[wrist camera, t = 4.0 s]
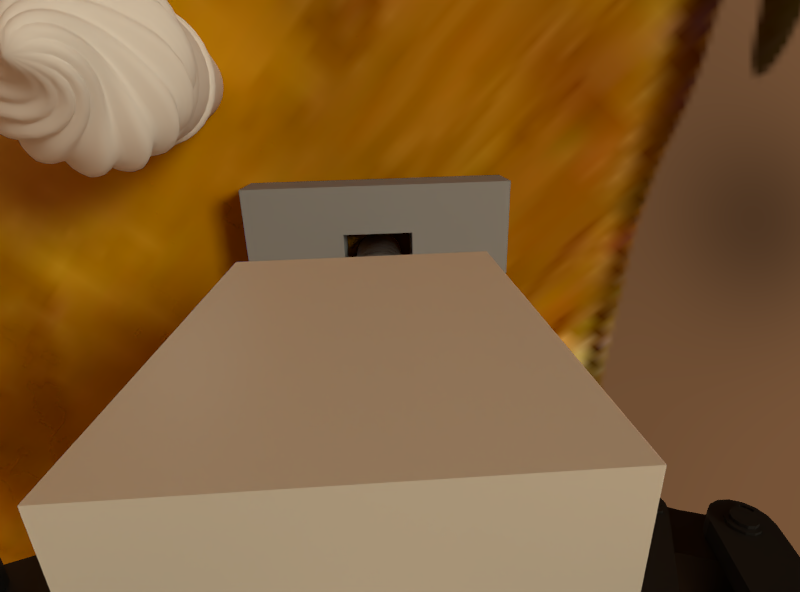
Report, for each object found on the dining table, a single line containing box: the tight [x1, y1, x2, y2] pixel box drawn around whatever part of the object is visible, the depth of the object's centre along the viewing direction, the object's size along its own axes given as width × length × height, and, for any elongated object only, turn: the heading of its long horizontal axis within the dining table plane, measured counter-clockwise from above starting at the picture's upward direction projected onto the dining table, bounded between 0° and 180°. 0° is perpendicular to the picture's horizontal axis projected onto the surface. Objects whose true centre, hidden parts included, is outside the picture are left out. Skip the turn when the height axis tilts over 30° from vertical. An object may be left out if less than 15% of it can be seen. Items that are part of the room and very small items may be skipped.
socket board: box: [239, 175, 511, 274], centre depth 34 cm, size 16×20×3 cm
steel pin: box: [357, 234, 402, 257], centre depth 28 cm, size 3×3×12 cm
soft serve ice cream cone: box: [0, 0, 223, 177], centre depth 22 cm, size 8×8×16 cm
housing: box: [17, 251, 666, 592], centre depth 13 cm, size 9×9×11 cm
